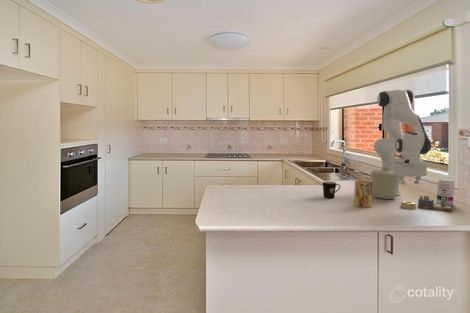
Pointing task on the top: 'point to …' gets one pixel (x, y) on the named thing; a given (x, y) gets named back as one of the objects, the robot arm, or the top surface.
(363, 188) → the candy box
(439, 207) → the gear board
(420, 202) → the gear
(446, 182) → the supplement can
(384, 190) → the canister
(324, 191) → the coffee mug
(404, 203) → the brass gear
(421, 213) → the top surface
